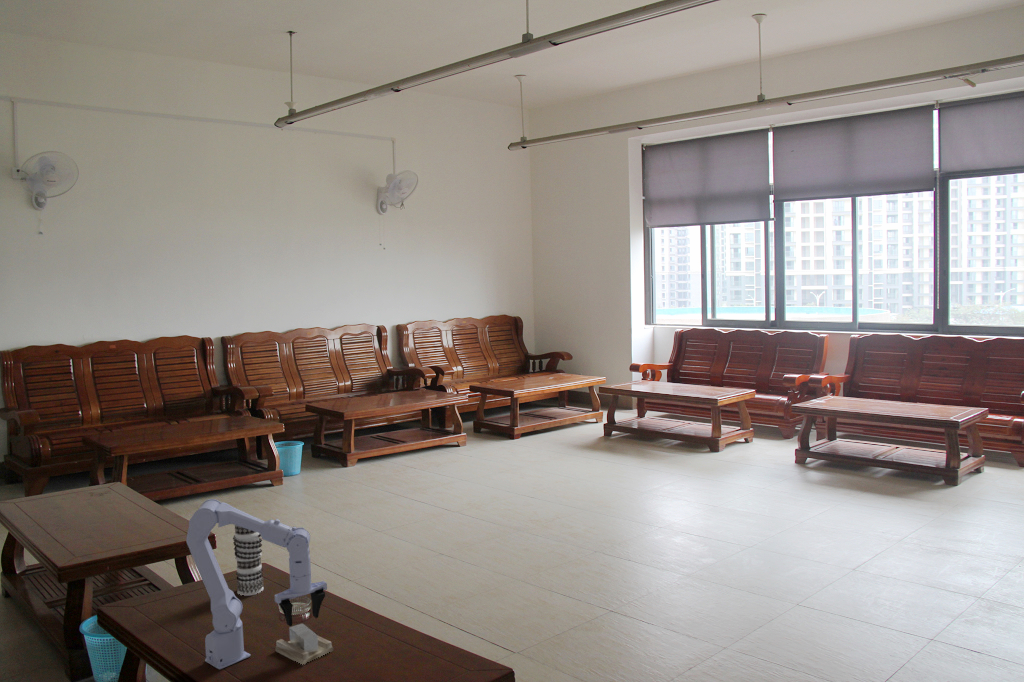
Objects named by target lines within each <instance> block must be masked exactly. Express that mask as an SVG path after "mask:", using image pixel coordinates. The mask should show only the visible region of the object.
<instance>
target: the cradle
mask: <svg viewBox="0 0 1024 682" xmlns="http://www.w3.org/2000/svg"><path fill="white" fill-rule="evenodd" d="M332 644H333V643H332V641H330V640H328V639H326V638H324V637H322V636H320V635H318V651H317V652H314V653H311V654H309V653H308V652H307V651H305V650H303V649H301V648H299V647H297V646H295V645H293V644H291V643H290V640H288V641H286V640H284V639H283V638H279V639H277V640H276V646H275V648H274V649H275V650H274V651H275V652H276V653H279V654H280V655H282V656H284V657H286V658H288V659H289V660H292V661H293V662H295V661H296V663H297V662H298V663H297V664H299V663H300V665H301V664H302V665H301V666H304V665H306V663H307V662H309V663H311V662H313V661H315V660H317V659H319V658H322V657H324V656H325V654H326V655H328V654H330V653H332V652H334V646H333V645H332ZM329 652H330V653H329ZM327 653H328V654H327ZM323 655H324V656H323ZM321 656H322V657H321ZM318 657H319V658H318ZM316 658H317V659H316ZM314 659H315V660H314ZM312 660H313V661H312ZM310 661H311V662H310ZM303 664H304V665H303ZM307 664H308V663H307Z"/></svg>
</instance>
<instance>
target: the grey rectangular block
mask: <svg viewBox="0 0 1024 682" xmlns="http://www.w3.org/2000/svg"><path fill="white" fill-rule="evenodd" d="M288 631H289V641H290V643H291V644H293V645H295V646H297V647H299V648H301V649H303V650H305V651H307V652H308V653H309V654H311V653H314V652H317V651H318V636H319V635H318V634H316V633H315V631H313V630H312V629H310V627H308V626H307V625H305V624H304V623H298V624H296V625H292V626H288Z"/></svg>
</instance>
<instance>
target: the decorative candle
mask: <svg viewBox="0 0 1024 682" xmlns="http://www.w3.org/2000/svg"><path fill="white" fill-rule="evenodd" d="M234 530H235V532H234V535H233V537H232V540H233V546H234V548H233V550H234V556H235V557H234V559H235V560H236V572H235V575H236V580H237V581H236V589H237V592H236V593H237V595H239V594H240V595H239V596H242V595H244V597H247V596H255V595H257V593H258V594H260V593H262V592H263V591H264V577H263V575H264V574H263V573H264V572H263V571H264V569H263V568H262V567H263V566H262V562H261V561H262V558H261V557H262V555H263V554H262V552H263V550H262V549H261V547H262V546H263V544H262V541H263V539H262V538H261V535H260V533H258V532H255V531H252V530H249V529H246V528H243V527H240V526H237V525H234ZM261 591H262V592H261Z"/></svg>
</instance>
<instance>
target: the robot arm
mask: <svg viewBox="0 0 1024 682" xmlns="http://www.w3.org/2000/svg"><path fill="white" fill-rule="evenodd" d="M217 524H218V526H217V527H218V528H222V527H225V526H228V525H234V526H235V525H237V526H240V527H243V528H246V529H249V530H252V531H255V532H258V533H260V535H261V536H260V538H261V539H262V541H267V542H269V543H272V544H274V545H276V546H278V547H282V548H286V550H287V552H288V553H289V557H288V565H289V566H288V567H289V585H290V586H289V587H290V588H288V589H285V590H284V591H282V592H279V593H276V594H274V602H275V603H276V604H278V605H279V607H280V609H281V610H282V613H283V615H284V618H285V621H286V625H287V626H288V627H292V626H293V606H294V604H293V603H292V602H291V599H296V598H299V597H303V596H307V595H310V597H311V606H312V609H311V610H312V611H311V613H312V616H313V617H314V618H315V619H318V618H319V614H320V610H321V607H322V603H323V601H324V599H325V598H326V592H325V591H326V590H328V583H327V581H324V580H322V581H318V582H312V568H311V555H310V552H311V551H310V542H311V535H310V533H309V531H308V530H307V529H305V528H303V527H296V526H290V525H287V524H284V523H282V522H281V520H280V519H278V518H275V520H274V519H269V520H263V519H261V518H259V517H256V516H254V515H253V514H249V513H247V512H245V511H244V510H241V509H239V508H237V507H235V506H233V505H231V504H229V503H228V502H224V501H220V500H218V499H215V498H209V499H206V500H205V501H203V502H202V503H201V504H200V507H199V508H198V509H197V510H196V511H195V512H194V513H193V515H191V517H190V519H189V521H188V528H187V533H186V534H187V535H186V540H185V542H186V544H187V548H189V549H188V550H189V552H190V554H191V557H192V558H193V561H194V564H195V565H196V568H197V570H198V572H199V575H200V578H201V580H202V583H203V584H204V587H205V590H206V591H207V593H208V594H207V595H208V597H209V599H210V612H211V615H212V621H211V622H212V626H213V628H214V629H213V630H212V631H211V632H210V633H208V634H207V635H206V636H205V639H204V645H205V659H204V661H205V662H206V663H208V664H210V665H211V666H213V667H214V668H216V669H218V670H222V669H224V668H227V667H230V666H231V665H234V664H236V663H238V662H241V661H243V660H245V659H247V658H250V657H251V654H250V653H249V652H247V651H245V647H244V645H245V644H244V628H243V627H244V626H243V621H242V620H241V617H240V616H241V614H242V612H243V609H244V607H243V602H242V601H241V600H240V599H239V598H238V597H237V596H236V595H235V593H234V591H233V590H231V589H230V588H229V586H228V583H227V581H226V579H225V577H224V574H223V572H222V569H221V567H220V565H219V562H218V560H217V558H216V555H215V552H214V550H213V547H212V545H211V543H210V541H209V539H208V537H209V536H210V533H211V532H212V530H213V529H214V528H215V526H216V525H217Z"/></svg>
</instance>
